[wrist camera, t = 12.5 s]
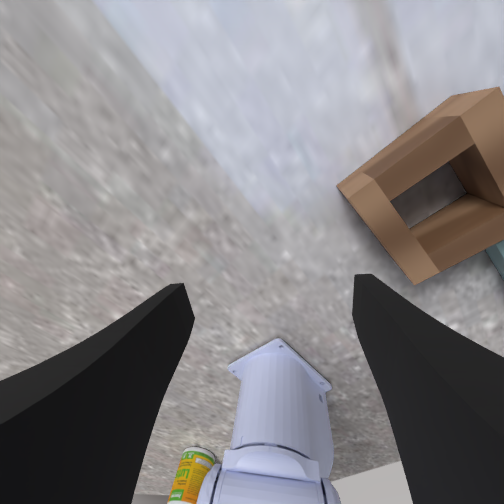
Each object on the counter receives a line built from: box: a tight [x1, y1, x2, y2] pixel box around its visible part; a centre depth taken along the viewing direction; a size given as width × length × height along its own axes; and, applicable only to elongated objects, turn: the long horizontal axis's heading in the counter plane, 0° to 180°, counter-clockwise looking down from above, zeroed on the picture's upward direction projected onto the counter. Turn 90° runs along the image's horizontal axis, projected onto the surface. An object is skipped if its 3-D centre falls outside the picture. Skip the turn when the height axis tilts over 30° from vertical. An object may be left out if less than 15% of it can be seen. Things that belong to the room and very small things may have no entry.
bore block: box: [337, 87, 504, 285], centre depth 15 cm, size 8×8×4 cm
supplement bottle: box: [167, 447, 215, 504], centre depth 35 cm, size 5×5×10 cm
